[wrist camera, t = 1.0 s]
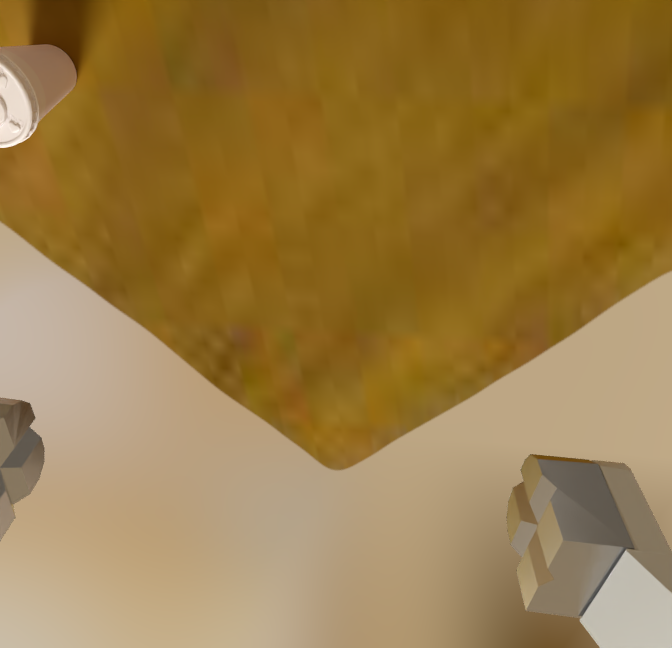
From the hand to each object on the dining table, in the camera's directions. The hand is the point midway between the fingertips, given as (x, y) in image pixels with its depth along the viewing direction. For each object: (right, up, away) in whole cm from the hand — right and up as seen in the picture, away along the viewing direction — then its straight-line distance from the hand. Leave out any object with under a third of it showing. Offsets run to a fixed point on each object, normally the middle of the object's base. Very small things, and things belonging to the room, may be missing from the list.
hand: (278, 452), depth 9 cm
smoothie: (-21, +22, +35) cm, 47 cm away
